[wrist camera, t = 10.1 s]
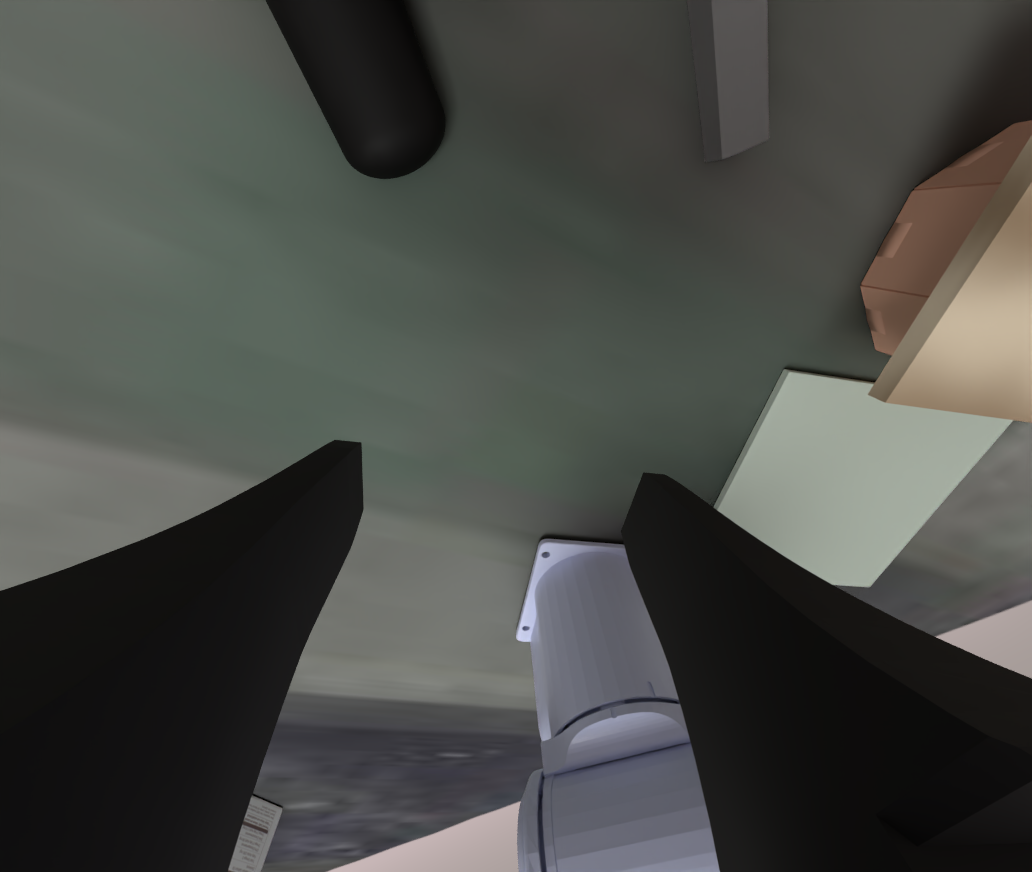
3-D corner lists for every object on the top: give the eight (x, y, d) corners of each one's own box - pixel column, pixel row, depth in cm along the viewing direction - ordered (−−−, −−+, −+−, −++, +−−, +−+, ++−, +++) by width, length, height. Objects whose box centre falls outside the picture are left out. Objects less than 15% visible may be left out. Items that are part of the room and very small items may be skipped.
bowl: (982, 368, 20) (1088, 400, 16) (826, 343, 19) (905, 371, 15) (1145, 155, 16) (1335, 136, 12) (957, 105, 14) (1108, 68, 11)
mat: (864, 582, 27) (869, 587, 27) (681, 569, 26) (683, 574, 25) (1016, 403, 21) (1024, 406, 21) (783, 368, 19) (789, 371, 19)
